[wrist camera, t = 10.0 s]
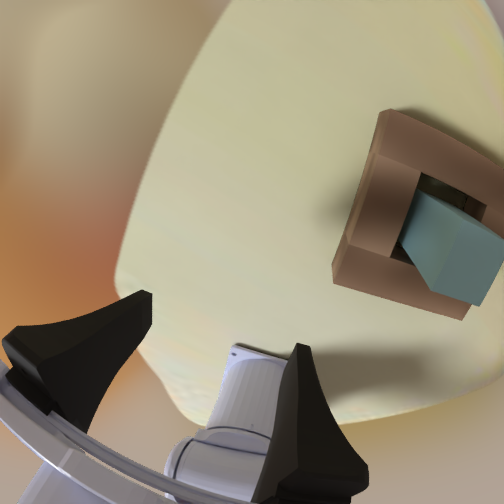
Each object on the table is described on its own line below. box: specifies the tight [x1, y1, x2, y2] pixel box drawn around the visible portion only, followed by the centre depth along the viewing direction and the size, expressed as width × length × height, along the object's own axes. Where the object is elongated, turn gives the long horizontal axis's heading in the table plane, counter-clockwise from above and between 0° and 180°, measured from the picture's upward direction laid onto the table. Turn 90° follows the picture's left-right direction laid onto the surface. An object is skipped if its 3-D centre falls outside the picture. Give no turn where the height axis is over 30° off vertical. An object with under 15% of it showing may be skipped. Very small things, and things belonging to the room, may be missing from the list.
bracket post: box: [397, 188, 504, 306], centre depth 14 cm, size 4×4×8 cm
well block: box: [332, 109, 504, 321], centre depth 17 cm, size 12×12×3 cm
